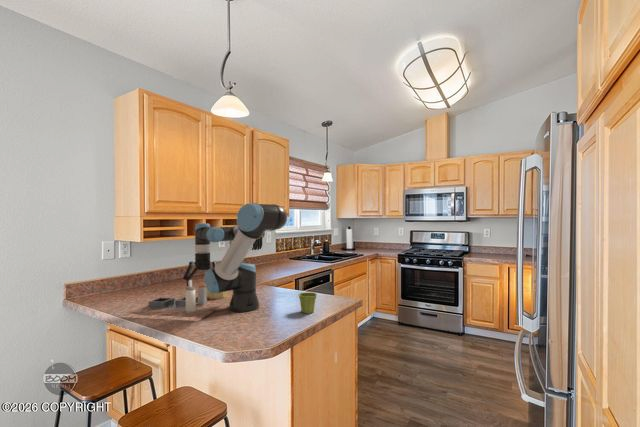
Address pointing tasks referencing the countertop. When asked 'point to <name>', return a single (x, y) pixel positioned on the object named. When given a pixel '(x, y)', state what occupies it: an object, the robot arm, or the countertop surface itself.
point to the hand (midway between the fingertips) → (202, 292)
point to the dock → (169, 303)
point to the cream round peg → (190, 299)
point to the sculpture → (217, 295)
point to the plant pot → (307, 301)
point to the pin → (202, 294)
